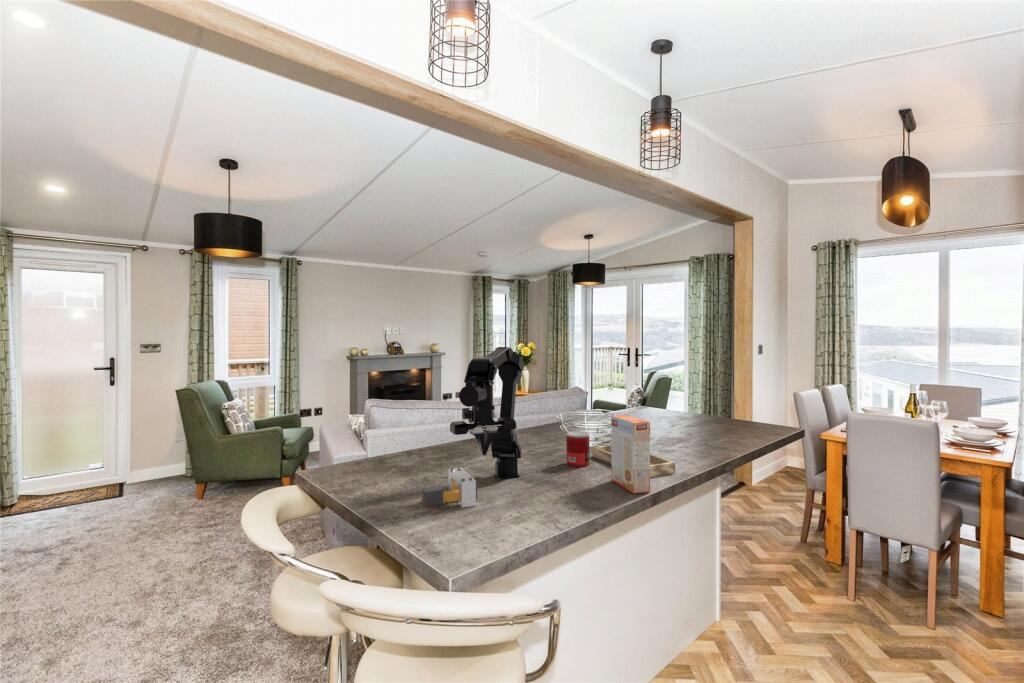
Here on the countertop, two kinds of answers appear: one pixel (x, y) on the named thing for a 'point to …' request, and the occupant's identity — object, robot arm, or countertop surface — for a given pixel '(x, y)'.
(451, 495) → the plug
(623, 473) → the cracker box
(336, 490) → the countertop surface
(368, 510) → the countertop surface
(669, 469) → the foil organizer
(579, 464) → the canned food
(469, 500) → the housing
